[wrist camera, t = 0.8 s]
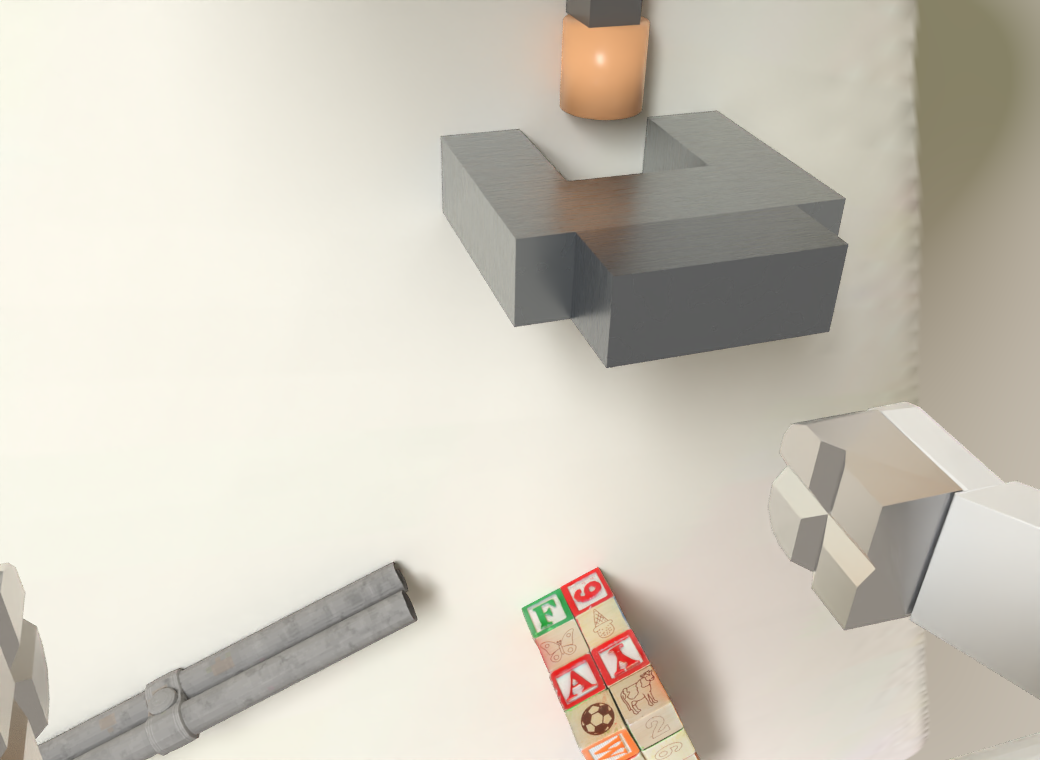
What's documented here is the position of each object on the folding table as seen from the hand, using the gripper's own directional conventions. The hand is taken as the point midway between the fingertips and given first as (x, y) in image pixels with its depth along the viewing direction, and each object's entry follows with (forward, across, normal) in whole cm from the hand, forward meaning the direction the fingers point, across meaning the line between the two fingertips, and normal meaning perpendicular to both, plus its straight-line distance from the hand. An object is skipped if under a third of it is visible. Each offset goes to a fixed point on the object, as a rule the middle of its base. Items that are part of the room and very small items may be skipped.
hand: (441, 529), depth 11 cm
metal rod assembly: (+38, +6, +43) cm, 58 cm away
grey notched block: (+38, -17, +12) cm, 43 cm away
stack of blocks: (+38, -22, +53) cm, 68 cm away
